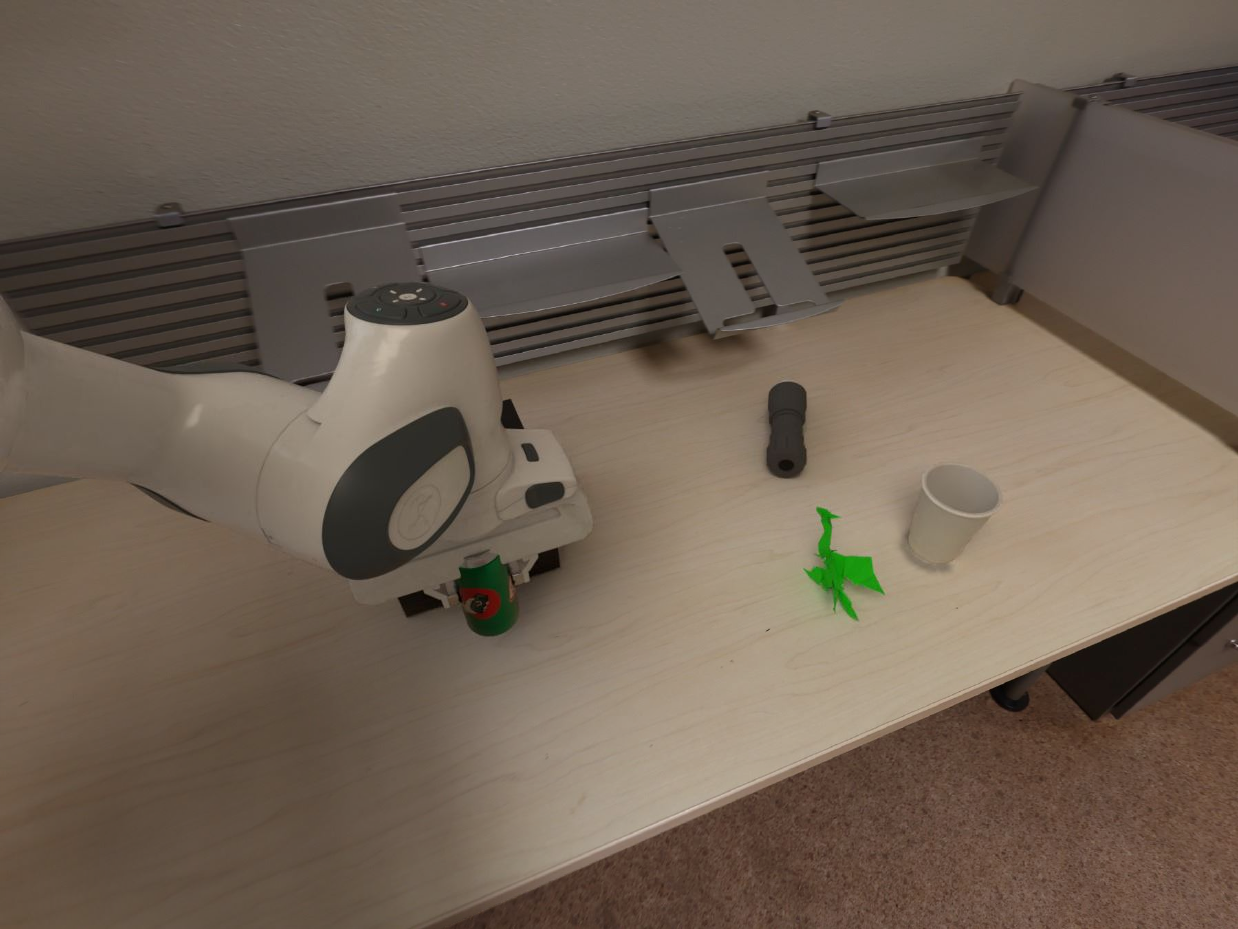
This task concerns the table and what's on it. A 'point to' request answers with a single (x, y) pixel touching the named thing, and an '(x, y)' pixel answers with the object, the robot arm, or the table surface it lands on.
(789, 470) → the flashlight
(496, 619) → the soda can
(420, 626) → the table surface
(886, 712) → the table surface
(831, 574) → the figurine
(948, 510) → the dixie cup
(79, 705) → the table surface
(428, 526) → the robot arm
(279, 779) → the table surface
